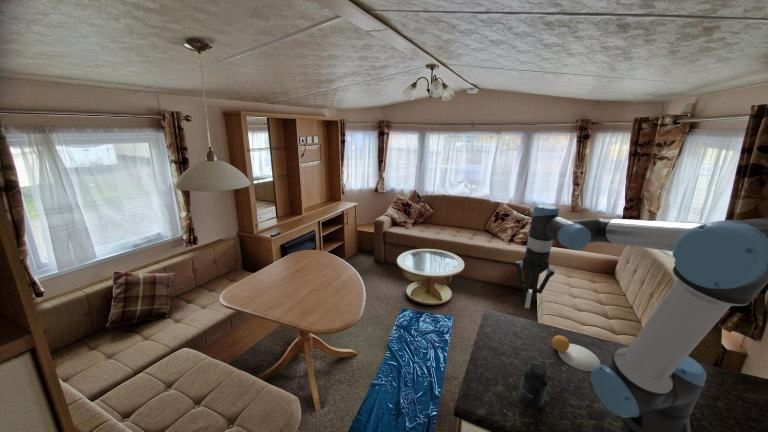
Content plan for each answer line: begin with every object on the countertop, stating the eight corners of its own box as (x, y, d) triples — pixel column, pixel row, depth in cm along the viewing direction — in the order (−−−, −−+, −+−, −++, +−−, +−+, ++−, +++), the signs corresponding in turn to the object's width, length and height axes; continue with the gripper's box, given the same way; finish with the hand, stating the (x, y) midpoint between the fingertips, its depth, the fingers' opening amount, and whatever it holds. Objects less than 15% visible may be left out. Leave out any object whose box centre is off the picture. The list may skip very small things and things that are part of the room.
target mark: (601, 377, 102) (601, 377, 102) (556, 361, 109) (556, 360, 109) (599, 352, 113) (599, 352, 113) (559, 339, 119) (559, 339, 119)
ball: (572, 350, 109) (558, 338, 110) (561, 357, 112) (547, 346, 113) (573, 340, 113) (559, 329, 114) (562, 347, 116) (549, 337, 117)
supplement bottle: (519, 406, 92) (526, 374, 88) (517, 387, 98) (523, 356, 94) (545, 412, 90) (553, 380, 86) (541, 393, 96) (548, 362, 92)
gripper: (560, 248, 108) (547, 306, 115) (520, 240, 114) (510, 296, 122) (558, 256, 102) (545, 317, 109) (516, 247, 108) (506, 305, 116)
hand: (527, 306), depth 116 cm, fingers closed
